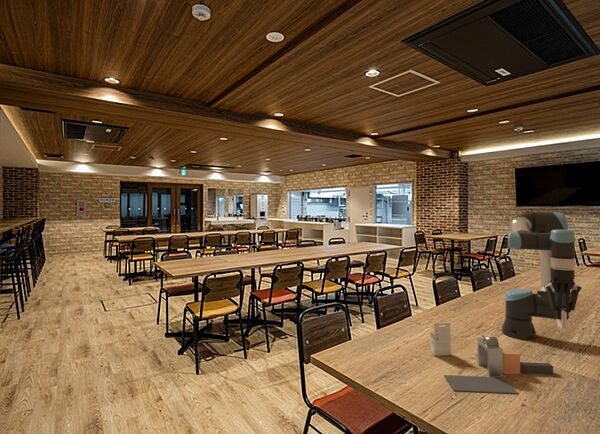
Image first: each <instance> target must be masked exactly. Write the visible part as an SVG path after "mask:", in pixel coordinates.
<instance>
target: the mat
mask: <svg viewBox="0 0 600 434" xmlns="http://www.w3.org/2000/svg"><path fill="white" fill-rule="evenodd" d="M443 377H444V379H445V380H446V382H447V383H448V385H449V386H450V388H451V389H452V391H453V392H462V393H463V392H466V393H467V392H470V393H484V394H485V393H488V394H513V395H518V394H519V392H518V391H517V390H516V389H515V388H514V387H513V386H512V385H511V384H510V383H509V382H508V381H507V380H506V379H505V377H489V376H481V375H480V376H478V375H477V376H476V375H473V376H472V375H452V374H448V375H447V374H444V375H443Z"/></svg>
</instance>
